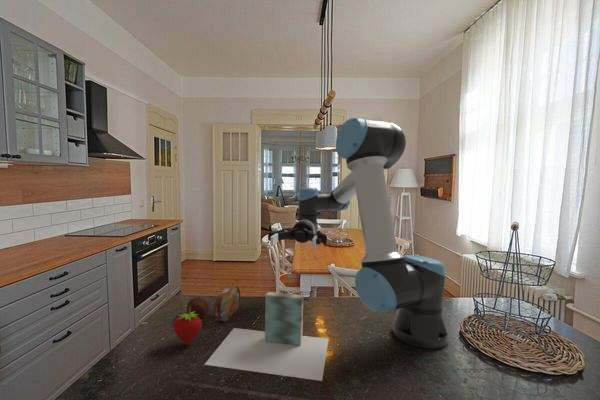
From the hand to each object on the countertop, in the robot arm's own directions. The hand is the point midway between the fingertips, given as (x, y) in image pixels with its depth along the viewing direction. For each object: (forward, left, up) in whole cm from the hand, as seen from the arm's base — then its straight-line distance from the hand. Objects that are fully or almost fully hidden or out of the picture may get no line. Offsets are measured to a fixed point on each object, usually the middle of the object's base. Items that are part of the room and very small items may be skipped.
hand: (292, 242), depth 89 cm
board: (0, +9, -25) cm, 27 cm away
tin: (+22, -4, -26) cm, 35 cm away
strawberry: (+25, +15, -26) cm, 39 cm away
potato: (+31, -1, -26) cm, 41 cm away
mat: (+2, +14, -26) cm, 30 cm away
